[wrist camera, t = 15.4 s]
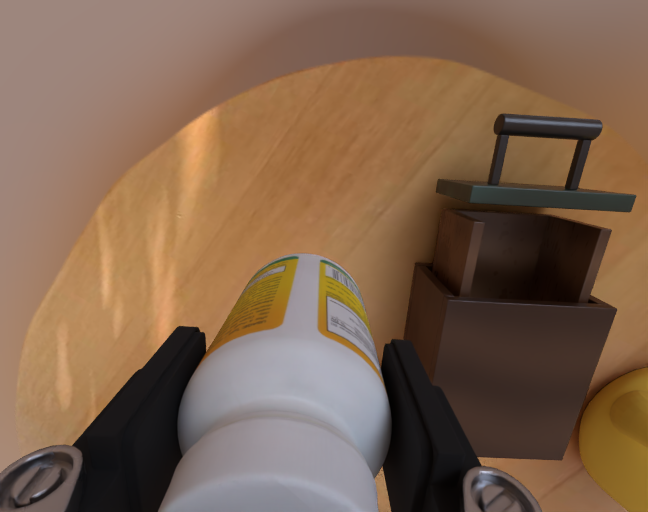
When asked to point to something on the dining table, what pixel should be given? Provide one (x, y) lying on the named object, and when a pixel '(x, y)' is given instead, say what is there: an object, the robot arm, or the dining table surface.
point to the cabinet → (508, 364)
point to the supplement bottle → (285, 401)
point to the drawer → (525, 225)
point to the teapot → (619, 440)
